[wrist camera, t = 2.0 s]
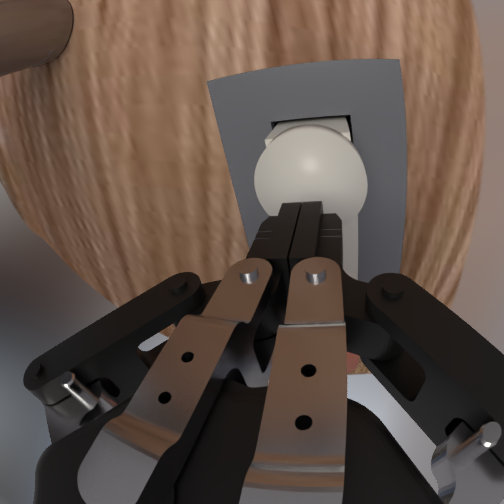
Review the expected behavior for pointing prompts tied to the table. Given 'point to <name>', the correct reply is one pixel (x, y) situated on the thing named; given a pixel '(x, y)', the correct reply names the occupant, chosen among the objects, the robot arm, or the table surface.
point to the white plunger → (312, 167)
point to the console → (361, 133)
